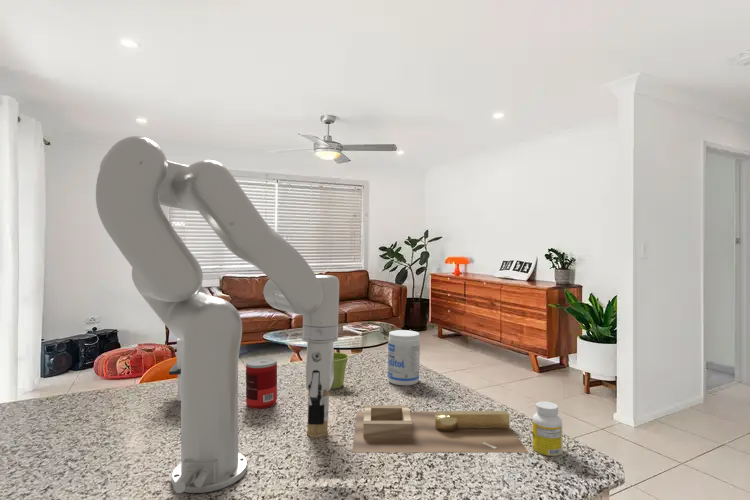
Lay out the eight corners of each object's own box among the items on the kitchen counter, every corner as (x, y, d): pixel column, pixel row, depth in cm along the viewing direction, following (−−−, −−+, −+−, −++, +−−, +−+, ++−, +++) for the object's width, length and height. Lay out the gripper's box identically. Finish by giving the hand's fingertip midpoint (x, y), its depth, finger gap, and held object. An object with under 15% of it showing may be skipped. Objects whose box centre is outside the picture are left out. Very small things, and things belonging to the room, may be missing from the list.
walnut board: (528, 457, 81) (528, 451, 81) (352, 457, 81) (352, 451, 81) (498, 415, 101) (498, 411, 101) (356, 415, 101) (356, 411, 101)
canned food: (281, 398, 113) (280, 357, 113) (270, 410, 105) (270, 366, 105) (253, 397, 114) (253, 356, 114) (241, 408, 106) (241, 365, 106)
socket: (411, 438, 87) (411, 423, 87) (363, 438, 87) (363, 423, 87) (408, 418, 97) (408, 405, 97) (364, 418, 97) (364, 405, 97)
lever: (511, 431, 90) (511, 417, 90) (436, 431, 90) (436, 417, 90) (504, 421, 95) (504, 408, 95) (433, 421, 95) (433, 408, 95)
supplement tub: (382, 383, 125) (382, 334, 125) (395, 374, 134) (395, 328, 134) (412, 388, 121) (412, 337, 121) (424, 379, 129) (424, 331, 129)
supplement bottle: (537, 445, 86) (537, 397, 86) (565, 454, 83) (566, 404, 83) (528, 455, 82) (528, 405, 82) (557, 465, 79) (557, 412, 79)
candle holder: (246, 379, 130) (245, 326, 130) (239, 408, 107) (239, 344, 107) (157, 385, 125) (157, 330, 125) (130, 417, 101) (129, 349, 101)
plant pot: (312, 383, 126) (312, 354, 126) (342, 379, 130) (342, 350, 130) (322, 393, 117) (322, 362, 117) (353, 388, 121) (353, 358, 121)
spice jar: (323, 428, 93) (324, 367, 93) (331, 436, 89) (333, 372, 89) (303, 432, 91) (305, 369, 91) (310, 440, 87) (312, 374, 87)
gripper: (334, 341, 82) (331, 436, 81) (341, 326, 99) (338, 405, 98) (295, 340, 82) (292, 435, 81) (308, 326, 99) (306, 404, 98)
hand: (317, 418), depth 90 cm, fingers closed on spice jar, 4 cm apart
